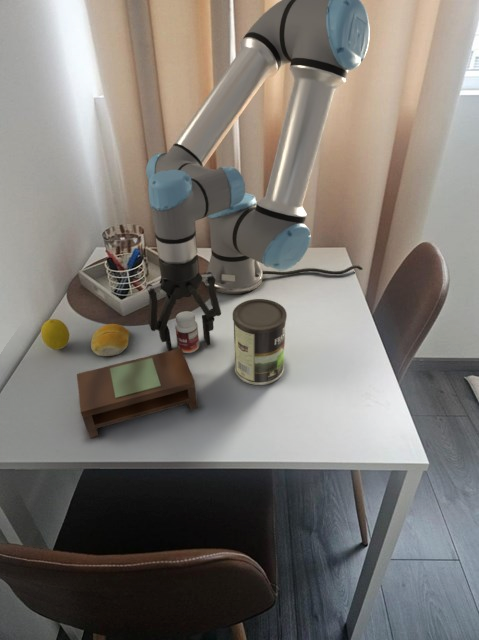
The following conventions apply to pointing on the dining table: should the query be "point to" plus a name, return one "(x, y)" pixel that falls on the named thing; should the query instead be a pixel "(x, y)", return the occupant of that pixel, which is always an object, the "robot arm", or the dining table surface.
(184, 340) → the pill bottle
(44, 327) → the lemon
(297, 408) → the dining table surface
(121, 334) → the bread roll
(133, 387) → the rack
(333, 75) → the robot arm
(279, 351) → the coffee can
